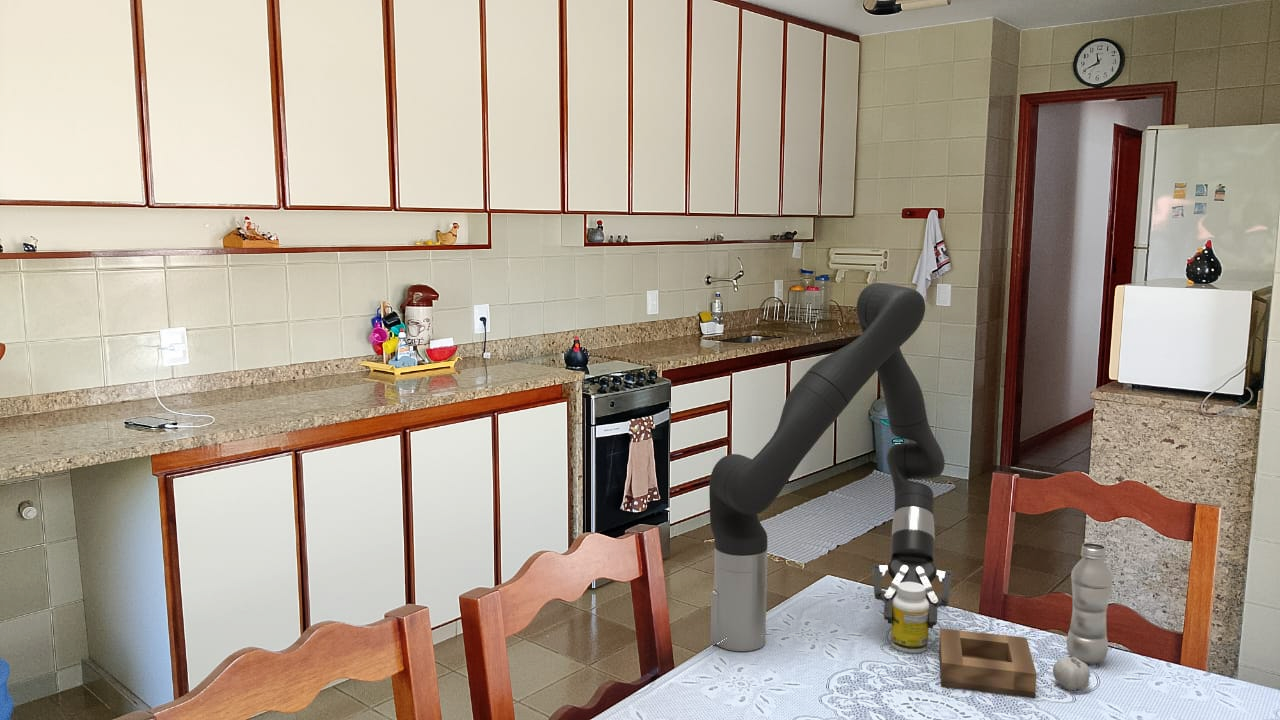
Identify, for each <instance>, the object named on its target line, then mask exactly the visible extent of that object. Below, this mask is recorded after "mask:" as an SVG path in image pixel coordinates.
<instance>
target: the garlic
mask: <svg viewBox="0 0 1280 720" xmlns="http://www.w3.org/2000/svg"><path fill="white" fill-rule="evenodd" d="M1052 674H1053V678H1054V679H1055V681H1056V682H1058V684H1060V685H1061V686H1062V687H1063V688H1065V689H1067V690H1068V691H1074V690H1080V689H1083V688H1084V687H1087V686H1088V685H1089V680H1090V674H1091V672H1090V668H1089V666H1088V664H1087V663H1084V662H1082V661H1080V660H1079V659H1077V658H1075V657H1071V656H1070V657H1069V656H1067V657H1061V658H1058V659H1057V661H1055V663H1054V664H1053V667H1052Z"/></svg>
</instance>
